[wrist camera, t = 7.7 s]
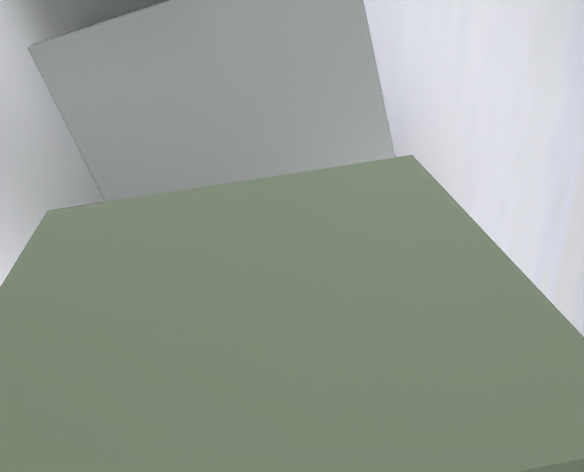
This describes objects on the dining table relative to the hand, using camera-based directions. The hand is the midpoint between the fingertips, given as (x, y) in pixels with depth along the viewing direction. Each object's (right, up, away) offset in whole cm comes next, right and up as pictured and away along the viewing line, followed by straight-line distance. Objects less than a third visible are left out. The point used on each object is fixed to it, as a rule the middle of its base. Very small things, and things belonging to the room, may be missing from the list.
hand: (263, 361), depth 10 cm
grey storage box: (-2, +8, +14) cm, 16 cm away
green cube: (0, 0, +1) cm, 1 cm away
